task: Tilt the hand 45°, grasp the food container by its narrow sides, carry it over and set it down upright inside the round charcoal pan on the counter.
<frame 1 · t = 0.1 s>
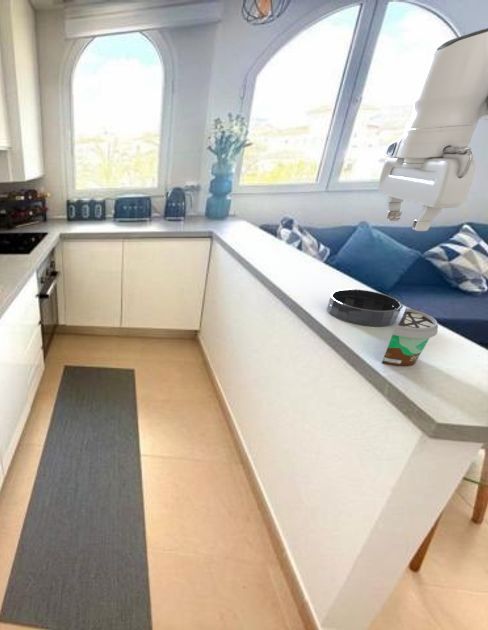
hand: (404, 224, 67), 30 cm above the table, tool pointing down, fingers open, 8 cm apart
food container: (403, 360, 77), on the table
pan: (360, 313, 98), on the table
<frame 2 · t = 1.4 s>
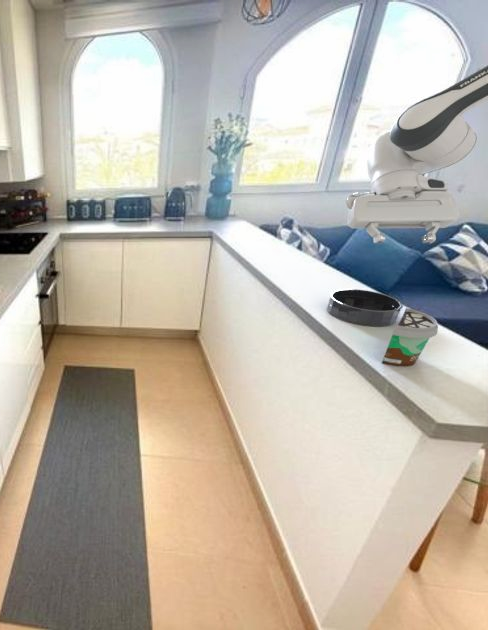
hand: (404, 242, 79), 23 cm above the table, tool tilted 45°, fingers open, 8 cm apart
nothing on the table moved.
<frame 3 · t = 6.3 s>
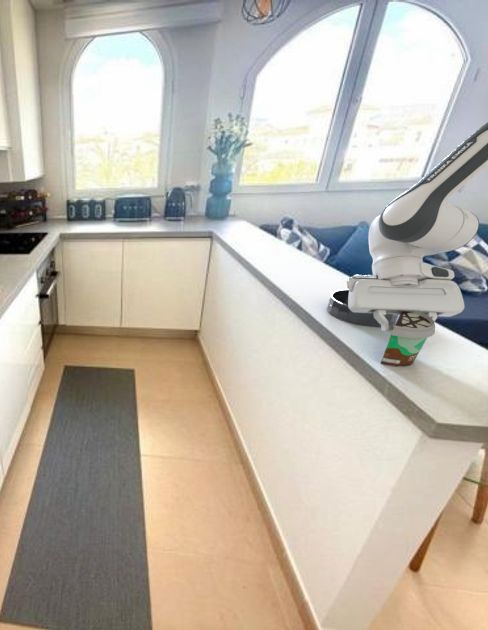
hand: (407, 331, 77), 6 cm above the table, tool tilted 45°, fingers closed on food container, 6 cm apart
food container: (401, 360, 77), on the table, touching gripper
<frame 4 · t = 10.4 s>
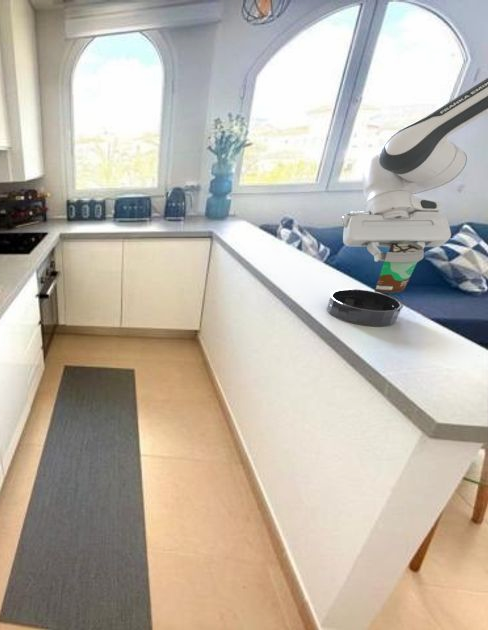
hand: (397, 260, 82), 18 cm above the table, tool tilted 45°, fingers closed on food container, 5 cm apart
food container: (393, 288, 83), point 12 cm above the table, touching gripper
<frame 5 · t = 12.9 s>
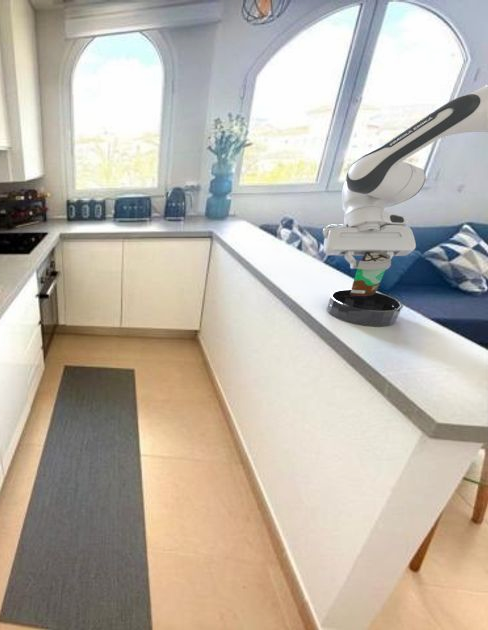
hand: (370, 268, 94), 13 cm above the table, tool tilted 45°, fingers closed on food container, 5 cm apart
food container: (366, 292, 95), point 7 cm above the table, touching gripper
when the fingers open (6 cm above the table, at t = 14.9 s): food container stays where it is, resting on pan.
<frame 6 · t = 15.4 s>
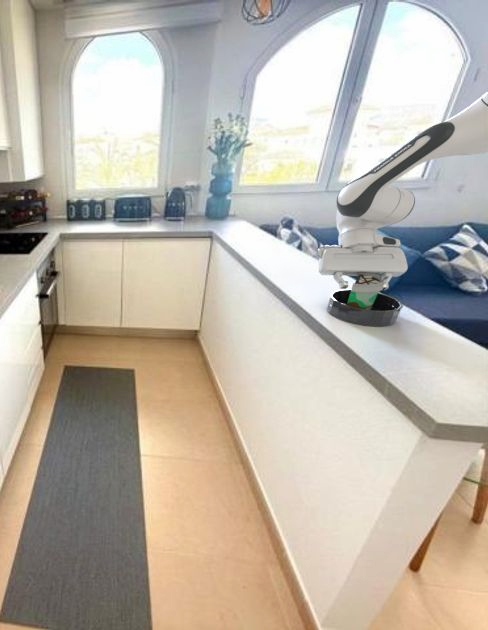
hand: (363, 288, 97), 7 cm above the table, tool tilted 45°, fingers open, 8 cm apart
food container: (359, 313, 97), resting on pan
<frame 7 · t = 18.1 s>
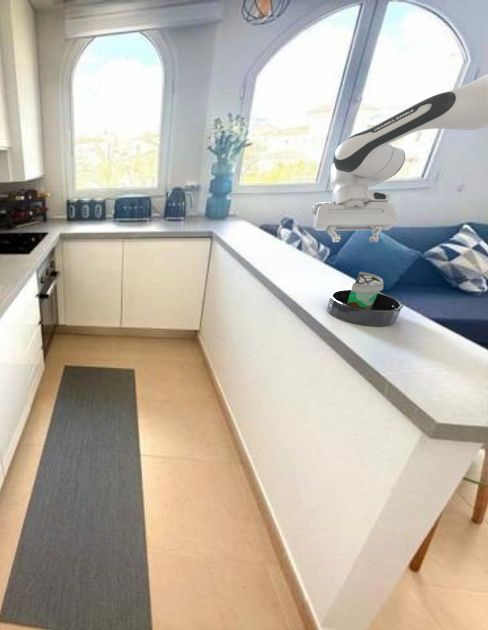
hand: (355, 241, 102), 17 cm above the table, tool tilted 45°, fingers open, 8 cm apart
nothing on the table moved.
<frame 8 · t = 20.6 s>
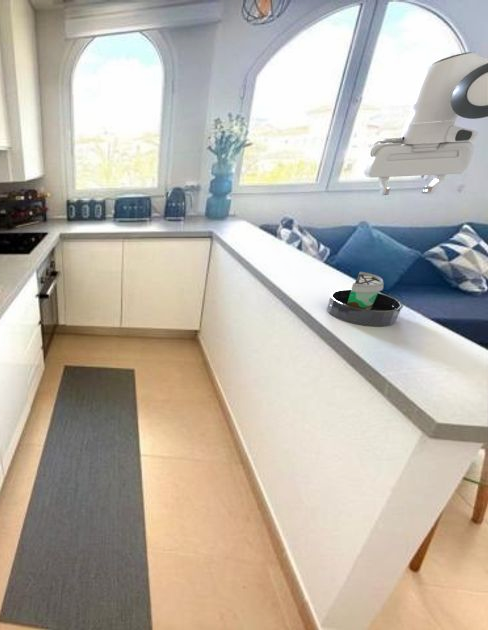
hand: (405, 194, 91), 31 cm above the table, tool pointing down, fingers open, 8 cm apart
nothing on the table moved.
at the end: food container inside the target area in the pan (0.2 cm from its centre), point 0.3 cm above the pan's base; food container tilted 0° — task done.
